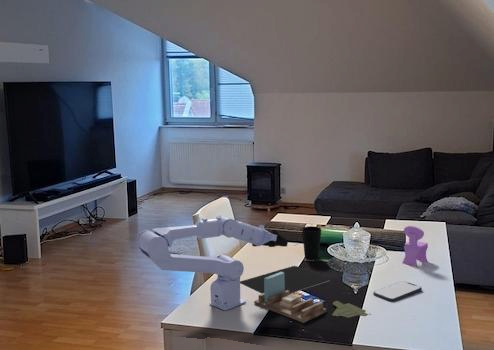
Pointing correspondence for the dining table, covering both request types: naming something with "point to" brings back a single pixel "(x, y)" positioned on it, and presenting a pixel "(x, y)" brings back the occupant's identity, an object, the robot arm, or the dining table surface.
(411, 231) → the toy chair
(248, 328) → the dining table surface
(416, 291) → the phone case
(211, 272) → the robot arm
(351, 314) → the olive flat irregular piece
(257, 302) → the rack
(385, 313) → the dining table surface
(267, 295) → the board
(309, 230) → the cup
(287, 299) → the offcut top
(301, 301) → the offcut low
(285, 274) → the tablet
